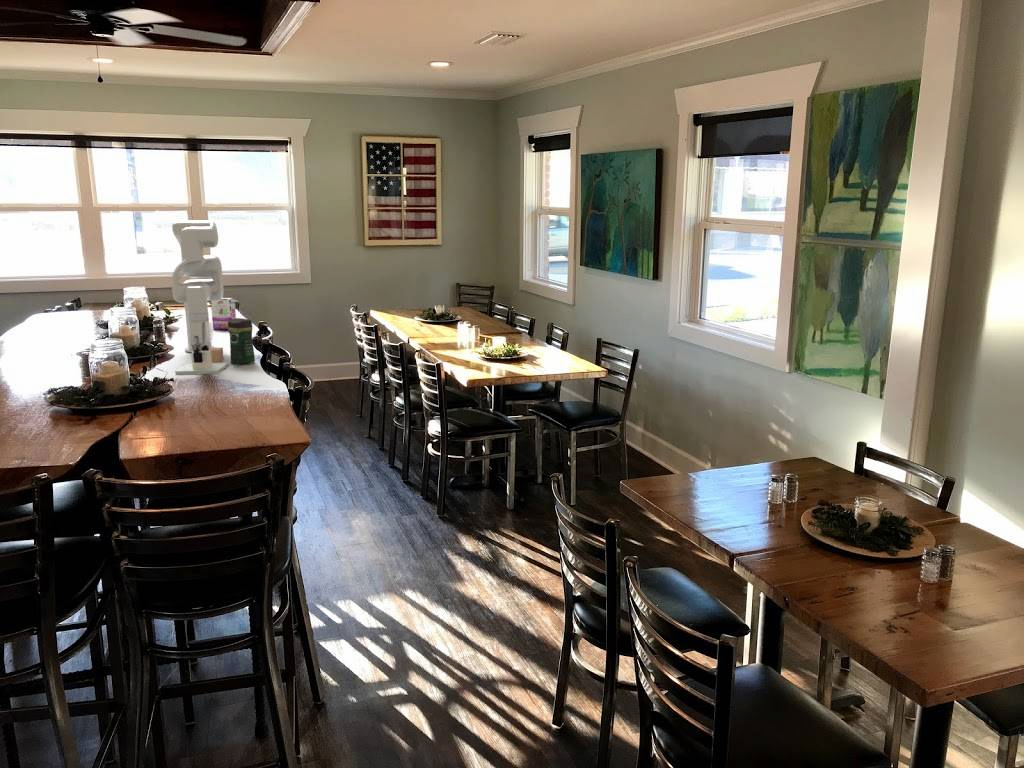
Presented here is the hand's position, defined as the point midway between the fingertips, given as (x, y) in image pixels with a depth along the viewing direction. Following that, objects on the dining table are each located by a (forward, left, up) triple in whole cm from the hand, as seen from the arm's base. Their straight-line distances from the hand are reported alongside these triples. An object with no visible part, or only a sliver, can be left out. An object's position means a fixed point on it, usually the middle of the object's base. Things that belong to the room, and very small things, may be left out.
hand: (201, 360), depth 320 cm
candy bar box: (-105, -17, -4) cm, 106 cm away
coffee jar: (-13, +13, -4) cm, 19 cm away
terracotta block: (-14, +1, -4) cm, 14 cm away
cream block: (0, 0, -3) cm, 3 cm away
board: (0, 0, -4) cm, 4 cm away
